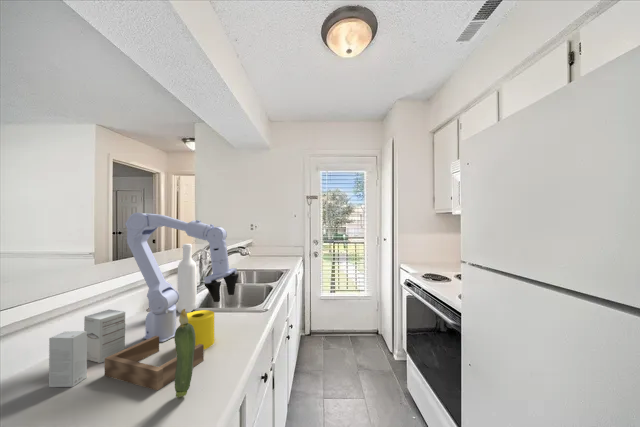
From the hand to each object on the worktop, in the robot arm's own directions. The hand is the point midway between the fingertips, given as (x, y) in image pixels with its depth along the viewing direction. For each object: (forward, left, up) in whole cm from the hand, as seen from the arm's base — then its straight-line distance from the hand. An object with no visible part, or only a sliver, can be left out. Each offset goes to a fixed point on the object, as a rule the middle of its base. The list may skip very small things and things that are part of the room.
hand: (224, 298), depth 96 cm
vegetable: (+14, -31, -13) cm, 36 cm away
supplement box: (-24, -25, -13) cm, 36 cm away
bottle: (-34, +15, -13) cm, 39 cm away
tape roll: (-3, -10, -13) cm, 16 cm away
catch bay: (-3, -24, -13) cm, 27 cm away
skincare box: (-18, -37, -13) cm, 43 cm away
